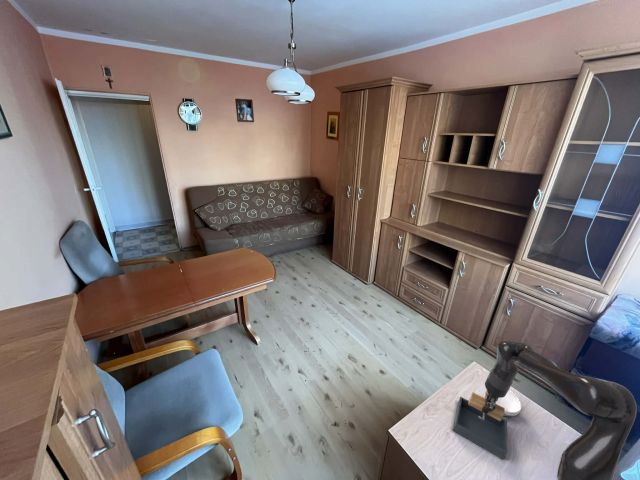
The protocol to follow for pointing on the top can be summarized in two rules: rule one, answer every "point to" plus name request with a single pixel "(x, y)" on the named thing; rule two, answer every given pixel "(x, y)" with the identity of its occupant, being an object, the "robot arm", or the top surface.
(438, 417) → the top surface
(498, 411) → the wooden block
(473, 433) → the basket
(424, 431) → the top surface
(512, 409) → the bowl
